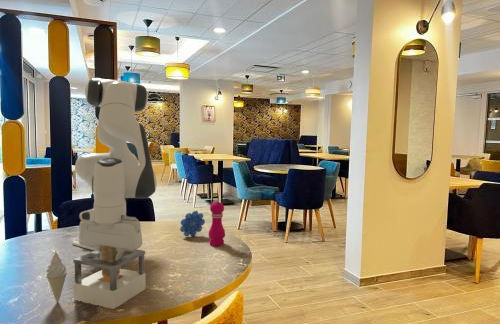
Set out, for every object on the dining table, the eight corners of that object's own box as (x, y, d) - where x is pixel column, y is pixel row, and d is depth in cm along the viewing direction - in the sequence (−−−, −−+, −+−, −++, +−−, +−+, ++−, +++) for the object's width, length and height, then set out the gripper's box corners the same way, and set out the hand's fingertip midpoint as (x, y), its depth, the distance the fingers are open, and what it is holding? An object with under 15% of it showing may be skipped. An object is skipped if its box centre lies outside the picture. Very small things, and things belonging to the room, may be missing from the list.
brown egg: (99, 292, 107) (99, 275, 106) (110, 286, 111) (110, 270, 110) (112, 294, 105) (111, 277, 105) (122, 288, 109) (122, 272, 109)
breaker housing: (74, 300, 104) (73, 283, 104) (109, 281, 117) (108, 266, 117) (113, 309, 99) (113, 291, 99) (145, 288, 112) (145, 273, 112)
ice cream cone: (52, 298, 105) (50, 248, 103) (70, 298, 105) (69, 247, 104) (43, 307, 100) (42, 253, 98) (63, 306, 100) (61, 253, 99)
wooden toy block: (101, 275, 107) (101, 245, 106) (110, 271, 110) (109, 241, 109) (111, 277, 105) (111, 246, 105) (119, 272, 109) (119, 243, 108)
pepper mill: (222, 247, 154) (223, 200, 152) (206, 246, 155) (206, 199, 153) (226, 242, 161) (227, 197, 159) (211, 241, 162) (211, 196, 160)
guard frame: (73, 283, 104) (73, 259, 103) (108, 266, 117) (108, 245, 116) (113, 291, 99) (113, 266, 98) (145, 273, 112) (145, 250, 111)
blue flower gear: (202, 232, 175) (202, 208, 174) (206, 236, 169) (206, 211, 168) (178, 234, 171) (178, 209, 170) (181, 238, 165) (181, 212, 164)
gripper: (146, 215, 106) (146, 261, 107) (91, 209, 113) (91, 252, 114) (132, 220, 100) (133, 269, 101) (74, 213, 107) (76, 259, 108)
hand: (110, 260), depth 107 cm, fingers closed on wooden toy block, 3 cm apart
